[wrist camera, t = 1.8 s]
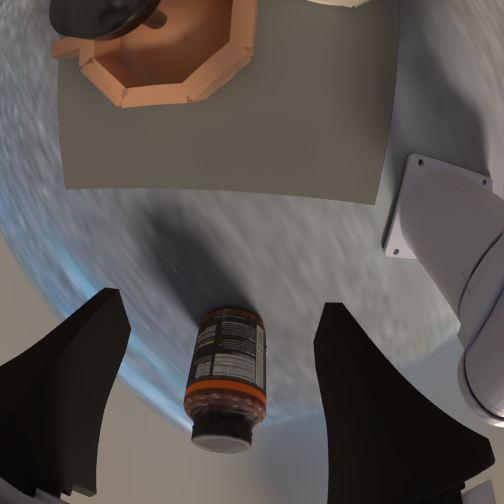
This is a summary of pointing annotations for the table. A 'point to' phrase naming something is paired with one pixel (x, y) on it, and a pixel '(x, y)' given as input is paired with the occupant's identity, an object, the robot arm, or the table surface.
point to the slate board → (253, 114)
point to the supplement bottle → (227, 381)
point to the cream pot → (340, 2)
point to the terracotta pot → (170, 53)
